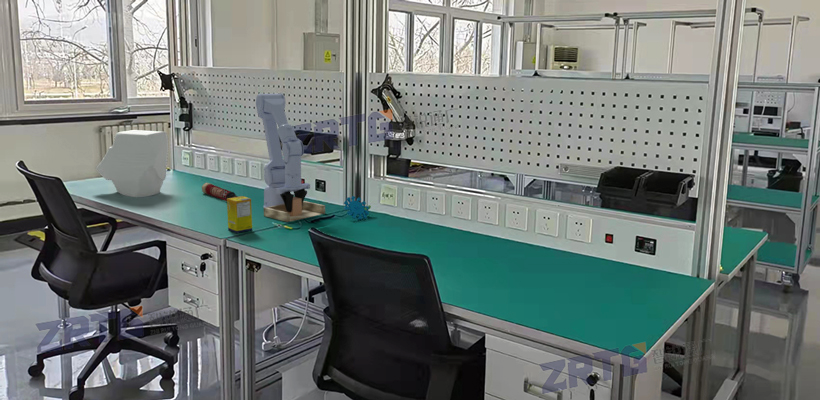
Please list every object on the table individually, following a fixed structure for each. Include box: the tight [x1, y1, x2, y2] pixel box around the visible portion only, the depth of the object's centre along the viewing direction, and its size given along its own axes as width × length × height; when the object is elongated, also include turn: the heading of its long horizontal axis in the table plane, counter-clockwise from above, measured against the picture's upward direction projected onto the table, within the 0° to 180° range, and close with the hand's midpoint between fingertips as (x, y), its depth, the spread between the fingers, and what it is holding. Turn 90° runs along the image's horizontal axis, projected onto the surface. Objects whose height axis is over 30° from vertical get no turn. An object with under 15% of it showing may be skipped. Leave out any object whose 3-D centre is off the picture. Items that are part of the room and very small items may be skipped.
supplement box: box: [226, 195, 253, 234], centre depth 212 cm, size 6×6×11 cm
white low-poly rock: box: [95, 129, 169, 198], centre depth 269 cm, size 21×27×26 cm
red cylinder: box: [201, 182, 239, 202], centre depth 263 cm, size 5×5×30 cm
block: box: [286, 196, 302, 216], centre depth 234 cm, size 4×4×6 cm
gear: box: [343, 195, 372, 221], centre depth 235 cm, size 11×6×10 cm
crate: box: [263, 200, 326, 223], centre depth 234 cm, size 13×18×4 cm
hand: (293, 210), depth 235 cm, fingers closed on block, 4 cm apart
